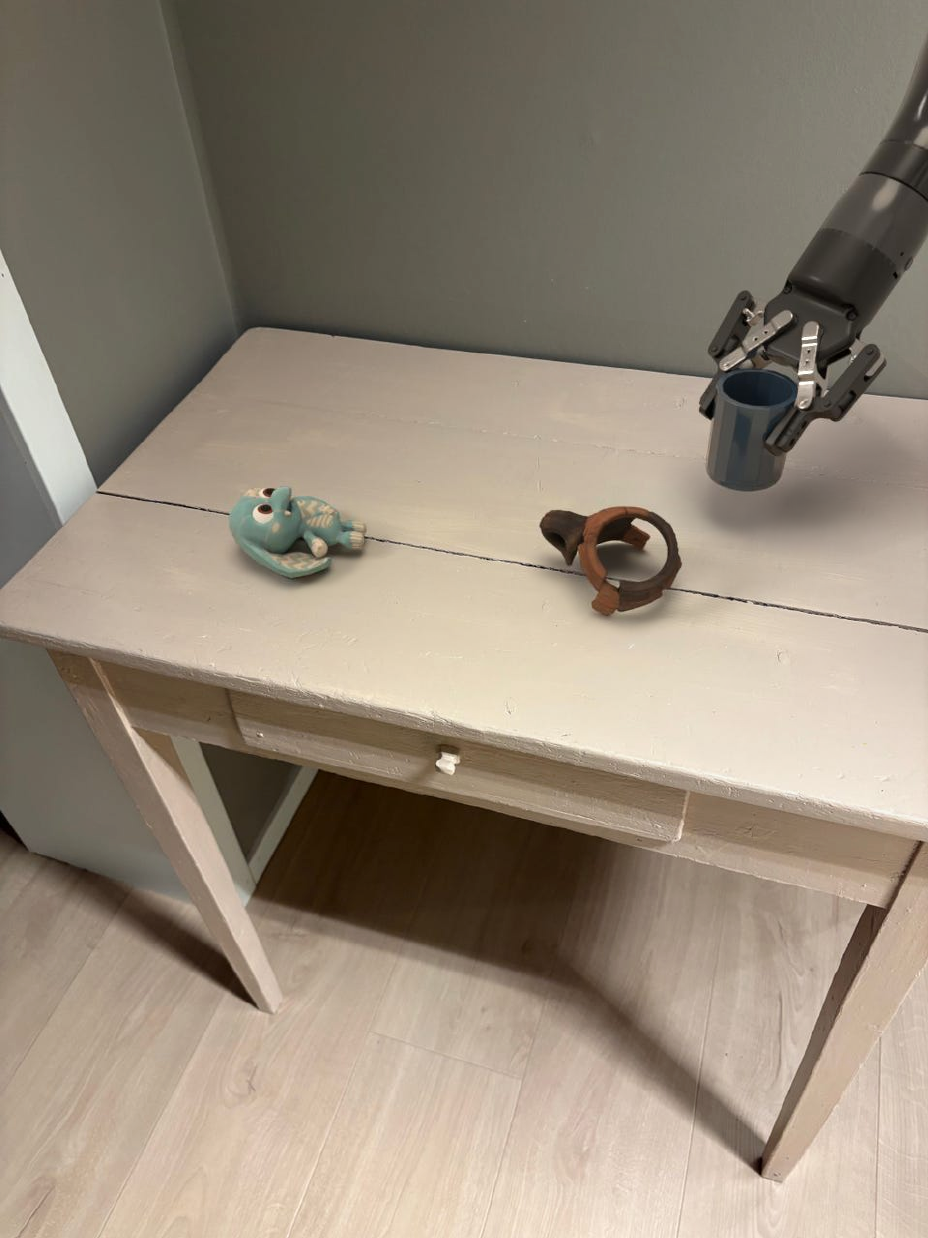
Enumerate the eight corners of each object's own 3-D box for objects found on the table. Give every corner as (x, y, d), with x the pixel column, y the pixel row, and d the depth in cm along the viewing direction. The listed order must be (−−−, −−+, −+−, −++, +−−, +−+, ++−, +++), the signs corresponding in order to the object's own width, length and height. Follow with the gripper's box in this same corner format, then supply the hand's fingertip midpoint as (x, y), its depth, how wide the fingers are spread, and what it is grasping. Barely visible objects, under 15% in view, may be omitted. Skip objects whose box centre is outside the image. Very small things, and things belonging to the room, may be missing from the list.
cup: (758, 443, 86) (773, 361, 80) (796, 482, 81) (814, 399, 76) (692, 457, 85) (703, 376, 79) (727, 498, 80) (741, 415, 75)
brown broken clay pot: (677, 549, 84) (703, 514, 76) (644, 647, 82) (668, 620, 74) (549, 502, 85) (561, 462, 77) (512, 597, 82) (521, 566, 74)
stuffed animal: (361, 538, 78) (213, 519, 77) (356, 601, 83) (217, 584, 82) (375, 462, 86) (240, 443, 85) (369, 524, 91) (242, 507, 90)
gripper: (771, 202, 77) (654, 383, 81) (930, 256, 69) (791, 456, 72) (802, 248, 83) (692, 415, 87) (952, 303, 74) (823, 486, 78)
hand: (737, 433), depth 79 cm, fingers closed on cup, 6 cm apart
